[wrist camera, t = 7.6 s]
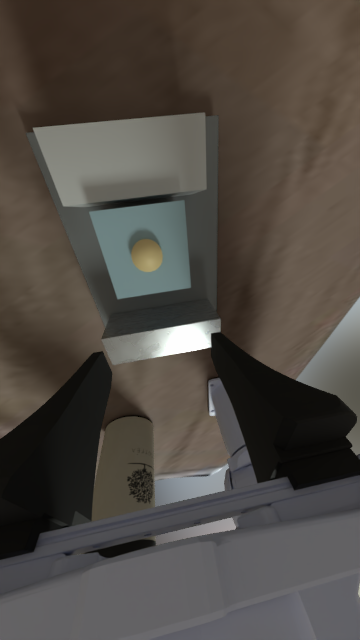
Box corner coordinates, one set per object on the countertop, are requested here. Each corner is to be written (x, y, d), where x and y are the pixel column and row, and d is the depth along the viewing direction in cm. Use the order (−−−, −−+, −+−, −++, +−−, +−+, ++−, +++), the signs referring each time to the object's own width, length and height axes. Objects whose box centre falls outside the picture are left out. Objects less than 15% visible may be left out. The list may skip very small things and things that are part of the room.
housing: (180, 267, 16) (192, 289, 12) (125, 275, 16) (116, 301, 11) (173, 202, 14) (185, 199, 9) (107, 211, 13) (86, 211, 9)
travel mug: (125, 443, 33) (106, 636, 18) (95, 427, 29) (38, 659, 14) (161, 427, 32) (172, 619, 17) (135, 408, 28) (119, 638, 13)
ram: (208, 322, 20) (220, 345, 17) (119, 338, 19) (112, 365, 16) (207, 298, 18) (220, 318, 15) (110, 314, 18) (101, 339, 14)
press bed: (213, 329, 22) (229, 358, 18) (116, 346, 21) (108, 380, 17) (213, 121, 12) (247, 76, 8) (34, 138, 12) (-31, 98, 7)
